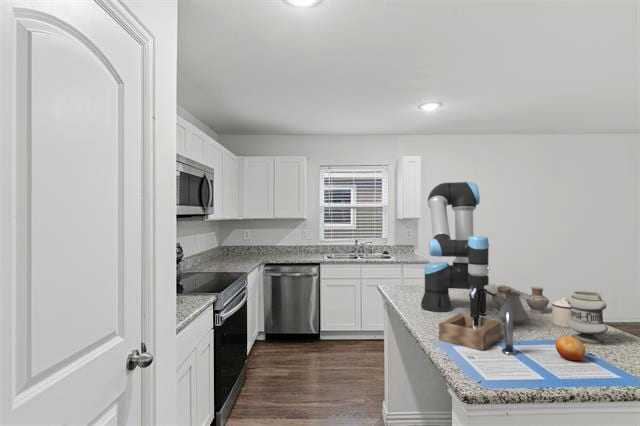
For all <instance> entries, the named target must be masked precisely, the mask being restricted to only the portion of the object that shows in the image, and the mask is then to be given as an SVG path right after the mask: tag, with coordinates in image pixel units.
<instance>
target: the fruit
mask: <svg viewBox="0 0 640 426" xmlns="http://www.w3.org/2000/svg"><path fill="white" fill-rule="evenodd" d="M555 349H556V351H557V353H558V355H559V356H560V357H562V358H563V360H567V361H581V360H583V359H584V358H585V356H586V355H585V354H586V346H585V345H584V343H582V342H581V341H580V340H578V339H576V338H574V337H572V335H565V336H564V335H563V336H560V337H558V338H557V339H556V340H555Z"/></svg>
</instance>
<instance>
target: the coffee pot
mask: <svg viewBox="0 0 640 426" xmlns="http://www.w3.org/2000/svg"><path fill="white" fill-rule="evenodd" d="M505 294H506V299H505V298H502V297H500V296H497V295H495V293H493V292H491V291H489V290H487V293H486V295H490V296H491V297H492V296H495V297H497V298H500V299H502V300H504V303H503V305H502V307H501V309H499V312H498V314H497V315H498V317H499V319H500V320H502V321H503V323H505V311H511V312H513V326H516V325H517V326H518V325H523V324H524V323H525V322H526V323H527V321H528V318H529V317H528V314H527V313H526V310H525V309H524V306H523V304H522V303H523V302H522V301H521V298H520V296H522V294H521V293H519V292H516V291H511V292H505Z"/></svg>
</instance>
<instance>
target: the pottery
mask: <svg viewBox="0 0 640 426" xmlns="http://www.w3.org/2000/svg"><path fill="white" fill-rule="evenodd" d="M496 289H497V292H495V293H494V294H495V295H497V296H500V297H502V298H505V299H506V294H505V292H512V288H511V287H507V286H497V288H496ZM543 291H544V287H541V286H540V287H539V286H531V292H532V293H531V294H528V296H527V295H526V297H525V302H526V304H527V306H528V307H529V308H530V312H531V313H535V314H544V313H545V311H544V310H546V309H547V307H548V305H549V303H550V299H549V298H547V297H546V296H544V295H543ZM491 299H492V301H493V302H494V304H495V305H496V306H497V309H498V310H500V309H501V307H502V305H503V303H504V300H502V299H500V298H497V297H495V296H492V295H491Z"/></svg>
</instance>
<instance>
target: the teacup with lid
mask: <svg viewBox="0 0 640 426" xmlns="http://www.w3.org/2000/svg"><path fill="white" fill-rule="evenodd" d="M567 300H568V297H561V299H559V300H555V301H553V302H551V305H552V307H551V309H552V310H551V311H552V312H551V313H552V320H551V321H552V324H553V325H554V326H557V327H561V328H567V329H571V328H570V327H569V326H568V320H569V319H570V318H571V306H570V305H569V304H568V302H567Z"/></svg>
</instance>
